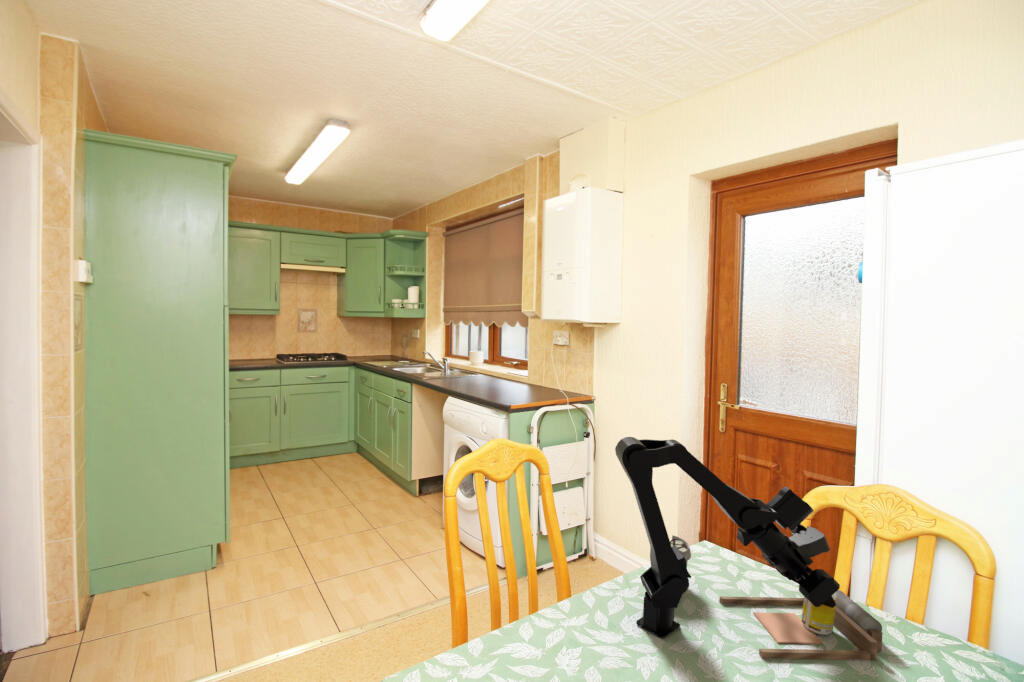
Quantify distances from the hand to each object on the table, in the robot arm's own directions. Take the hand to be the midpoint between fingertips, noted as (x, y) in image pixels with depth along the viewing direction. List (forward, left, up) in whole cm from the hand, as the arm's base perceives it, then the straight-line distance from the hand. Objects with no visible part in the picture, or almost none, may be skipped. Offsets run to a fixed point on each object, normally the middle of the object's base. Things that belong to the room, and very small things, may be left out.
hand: (824, 597), depth 104 cm
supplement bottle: (-1, +1, -7) cm, 7 cm away
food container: (-10, +28, -7) cm, 30 cm away
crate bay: (-4, +4, -7) cm, 9 cm away
